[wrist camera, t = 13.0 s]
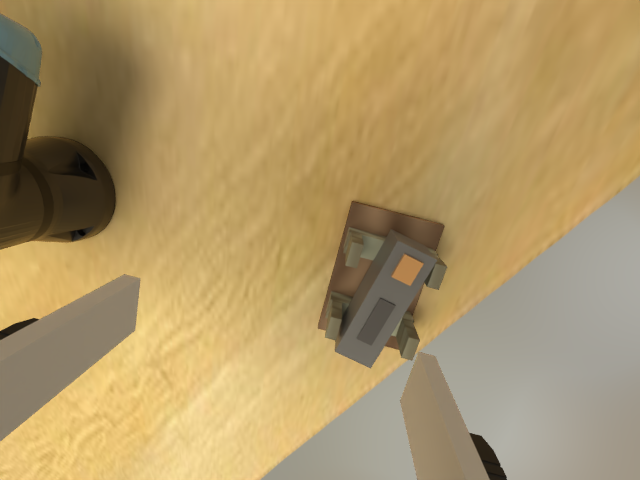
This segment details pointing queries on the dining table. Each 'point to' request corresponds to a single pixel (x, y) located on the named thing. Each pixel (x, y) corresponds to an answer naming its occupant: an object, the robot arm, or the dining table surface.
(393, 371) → the dining table surface
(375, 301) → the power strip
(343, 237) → the rack
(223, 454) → the dining table surface
